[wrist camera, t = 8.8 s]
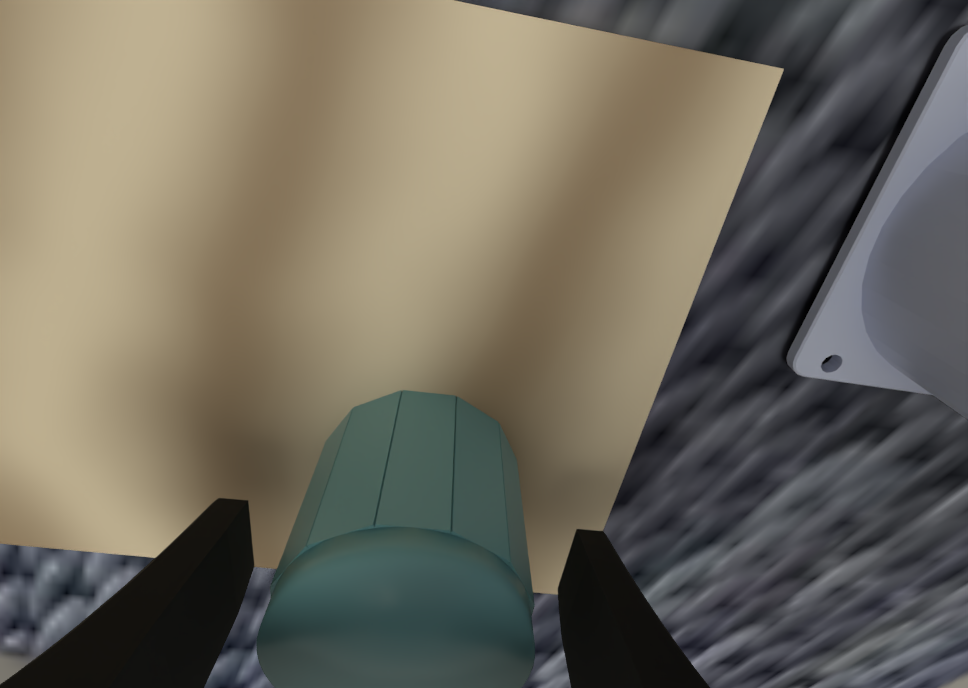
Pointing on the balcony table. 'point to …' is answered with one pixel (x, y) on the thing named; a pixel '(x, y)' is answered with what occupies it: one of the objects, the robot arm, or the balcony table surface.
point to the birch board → (338, 249)
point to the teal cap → (405, 557)
